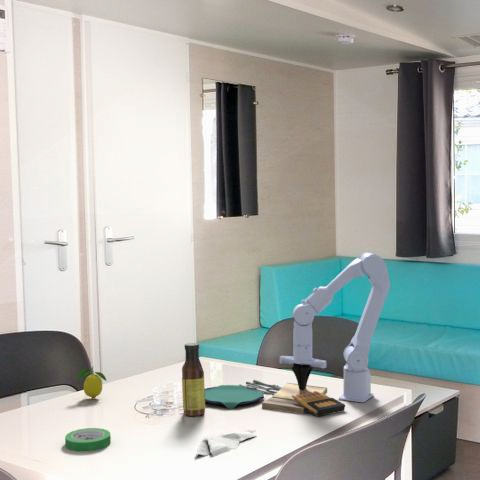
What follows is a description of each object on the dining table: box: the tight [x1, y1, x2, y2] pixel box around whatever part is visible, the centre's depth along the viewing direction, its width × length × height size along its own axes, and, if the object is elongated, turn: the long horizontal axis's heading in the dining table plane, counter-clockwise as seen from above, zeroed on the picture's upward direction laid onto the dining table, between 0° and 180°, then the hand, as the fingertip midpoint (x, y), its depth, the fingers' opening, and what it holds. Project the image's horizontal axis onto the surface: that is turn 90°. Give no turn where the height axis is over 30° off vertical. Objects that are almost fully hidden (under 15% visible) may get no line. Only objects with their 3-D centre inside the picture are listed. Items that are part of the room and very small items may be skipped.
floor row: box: [261, 396, 310, 415], centre depth 224 cm, size 6×13×2 cm, turn 62°
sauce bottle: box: [181, 342, 206, 417], centre depth 219 cm, size 7×6×20 cm
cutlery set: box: [205, 379, 283, 410], centre depth 238 cm, size 20×30×2 cm, turn 136°
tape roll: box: [64, 427, 112, 452], centre depth 194 cm, size 11×11×3 cm
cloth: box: [194, 429, 257, 461], centre depth 194 cm, size 26×14×2 cm, turn 133°
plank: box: [272, 382, 328, 401], centre depth 233 cm, size 11×13×2 cm
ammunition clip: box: [292, 391, 346, 417], centre depth 223 cm, size 11×2×12 cm
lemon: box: [77, 365, 107, 400], centre depth 234 cm, size 7×6×10 cm
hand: (302, 389), depth 234 cm, fingers closed, pressing on plank
